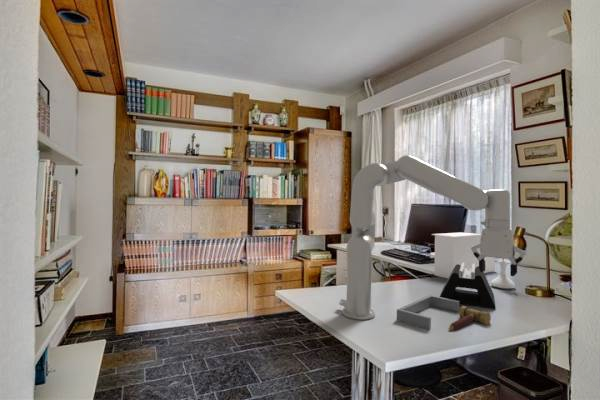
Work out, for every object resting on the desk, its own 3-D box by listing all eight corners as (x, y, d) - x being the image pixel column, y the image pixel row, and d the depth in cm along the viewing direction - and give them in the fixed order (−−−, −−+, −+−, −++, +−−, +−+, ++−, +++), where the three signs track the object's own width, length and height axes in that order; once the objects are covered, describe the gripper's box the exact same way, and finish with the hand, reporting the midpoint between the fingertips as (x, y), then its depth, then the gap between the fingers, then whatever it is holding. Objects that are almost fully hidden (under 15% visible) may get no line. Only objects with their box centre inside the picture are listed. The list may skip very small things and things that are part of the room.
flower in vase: (510, 291, 174) (511, 242, 173) (486, 286, 183) (487, 239, 182) (520, 287, 182) (521, 240, 182) (496, 283, 191) (498, 238, 190)
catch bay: (396, 320, 131) (396, 309, 130) (429, 303, 151) (429, 294, 151) (428, 329, 122) (429, 318, 122) (459, 310, 143) (459, 301, 142)
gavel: (463, 327, 117) (435, 318, 125) (463, 340, 117) (436, 331, 125) (490, 311, 130) (464, 304, 137) (491, 323, 130) (464, 315, 138)
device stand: (438, 301, 156) (439, 268, 156) (443, 290, 176) (443, 260, 176) (495, 310, 145) (496, 274, 145) (493, 296, 165) (494, 265, 165)
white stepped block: (468, 266, 237) (469, 230, 237) (495, 271, 222) (496, 233, 221) (426, 273, 213) (427, 233, 212) (454, 280, 197) (455, 236, 197)
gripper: (467, 224, 125) (467, 271, 125) (522, 226, 112) (522, 279, 112) (475, 223, 130) (475, 268, 130) (529, 225, 117) (529, 275, 117)
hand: (497, 273), depth 121 cm, fingers open, 9 cm apart
